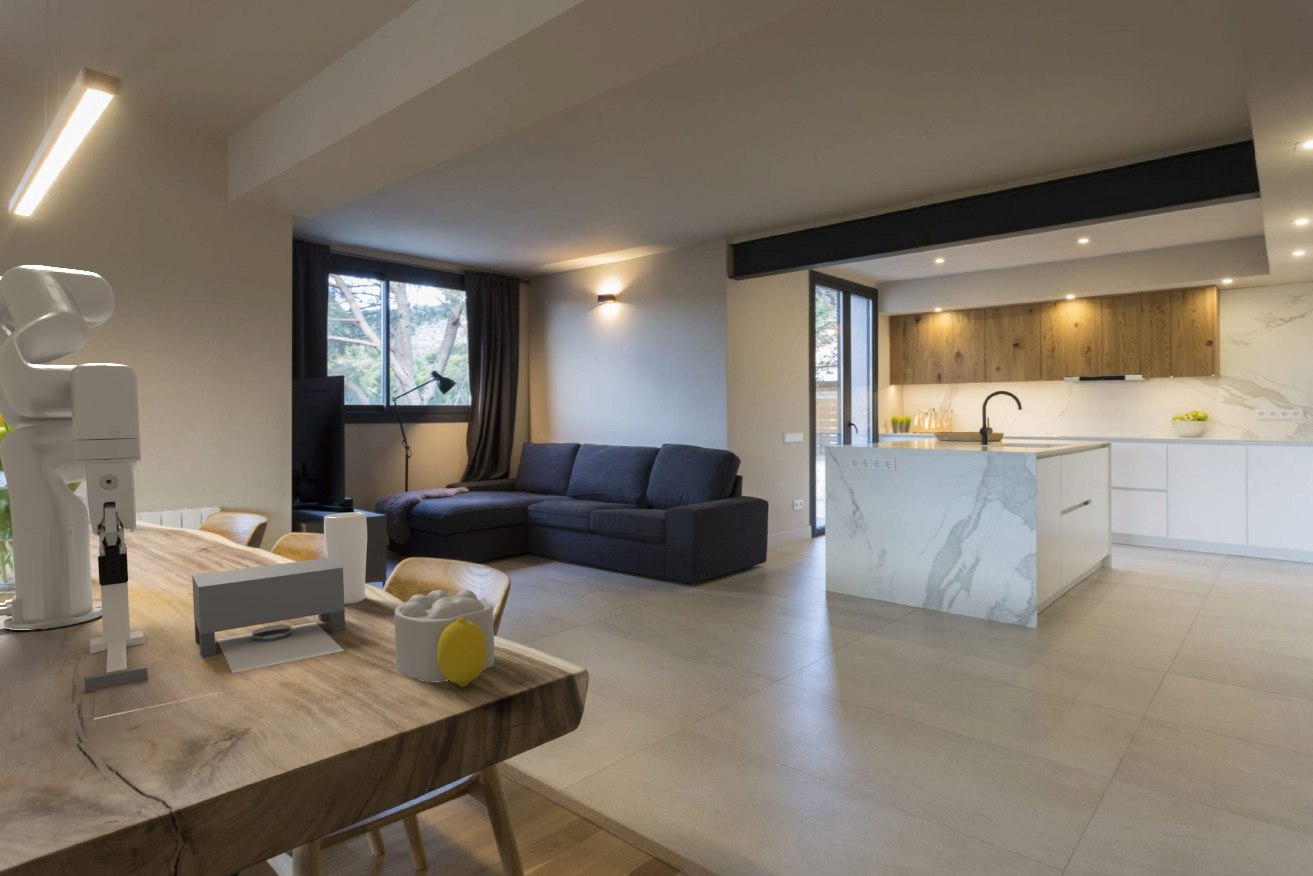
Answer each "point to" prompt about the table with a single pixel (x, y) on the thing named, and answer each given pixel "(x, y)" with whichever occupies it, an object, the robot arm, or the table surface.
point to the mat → (277, 648)
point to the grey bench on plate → (266, 597)
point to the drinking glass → (348, 550)
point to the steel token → (271, 633)
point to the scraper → (115, 640)
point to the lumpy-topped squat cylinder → (435, 630)
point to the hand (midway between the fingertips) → (114, 578)
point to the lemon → (462, 652)
